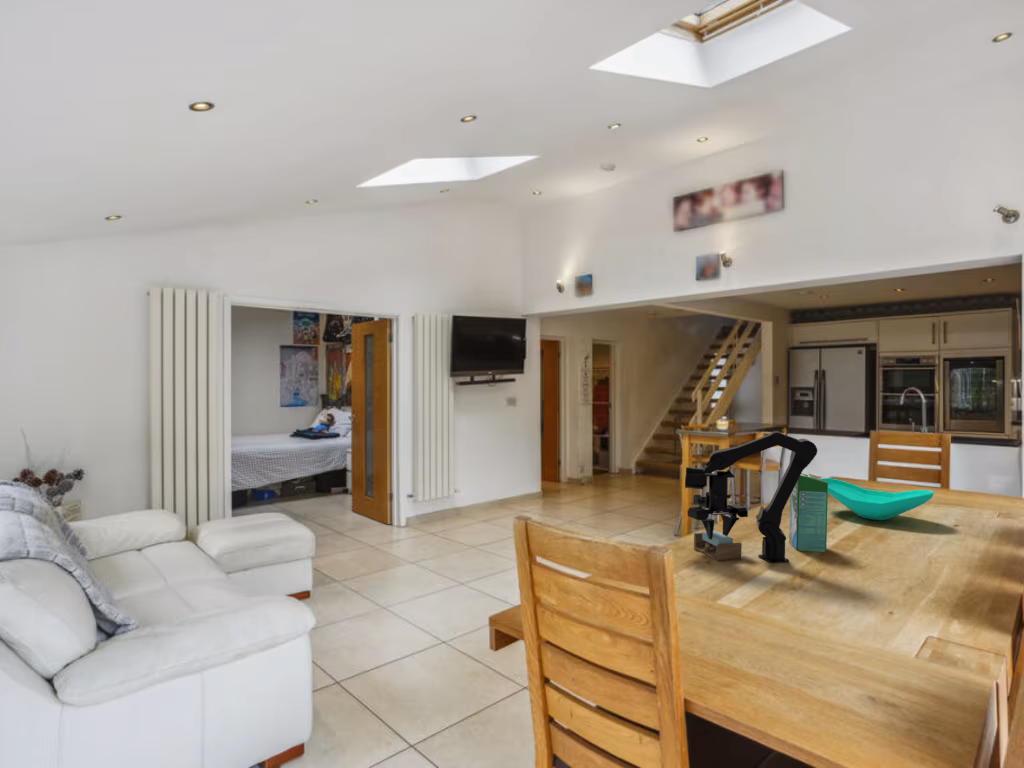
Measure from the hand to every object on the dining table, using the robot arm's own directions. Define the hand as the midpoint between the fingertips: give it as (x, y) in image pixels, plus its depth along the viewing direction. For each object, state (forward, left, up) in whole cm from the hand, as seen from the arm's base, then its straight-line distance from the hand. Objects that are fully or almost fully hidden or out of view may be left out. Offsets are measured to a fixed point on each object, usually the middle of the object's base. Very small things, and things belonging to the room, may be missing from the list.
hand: (717, 538), depth 186 cm
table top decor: (+25, -90, -5) cm, 93 cm away
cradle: (0, 0, -5) cm, 5 cm away
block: (0, 0, -1) cm, 1 cm away
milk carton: (-1, -34, -5) cm, 34 cm away
